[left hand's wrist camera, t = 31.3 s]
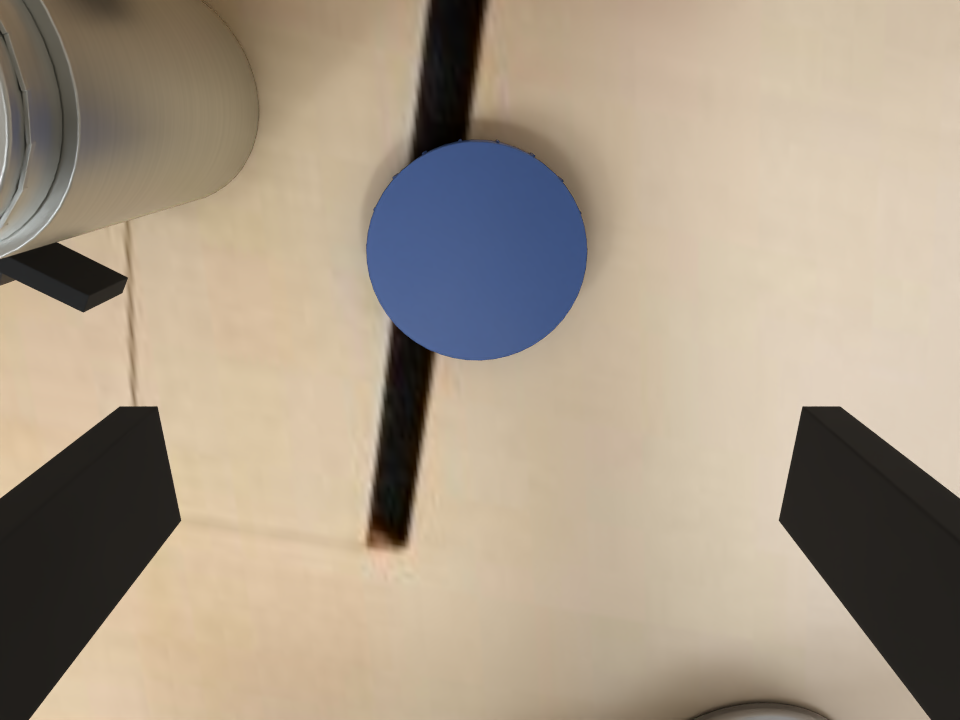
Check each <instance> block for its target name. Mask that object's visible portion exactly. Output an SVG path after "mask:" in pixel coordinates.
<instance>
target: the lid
mask: <svg viewBox="0 0 960 720" xmlns="http://www.w3.org/2000/svg"><path fill="white" fill-rule="evenodd" d="M366 246H367V247H366V249H367V265H368V271H369V276H370V280H371V283H372V286H373V289H374V292H375V294H376V296H377V298H378V300H379V302H380V304H381V306H382V307H383V309H384V310H385V312H386V314H387V315H388V316H389V317H390V319H391V320H392V321H393V322H394V324H395V325H396V326H397V327H398V328H399V329H400V330H401V331H402V332H404V333H405V334H406V335H407V336H408V337H410V338H411V339H412V340H414V341H415V342H416V343H418V344H420V345H422V346H424V347H425V348H427V349H429V350H431V351H434V352H436V353H439V354H441V355H445V356H449V357H452V358H457V359H464V360H489V359H497V358H501V357H506V356H509V355H512V354H515V353H518V352H520V351H522V350H524V349H526V348H528V347H530V346H532V345H534V344H535V343H537V342H538V341H540V340H541V339H543V338H544V337H545V336H547V335H548V334H549V333H550V332H551V331H552V330H554V329H555V328H556V326H557V325H558V324H559V323H560V322H561V321H562V320H563V319H564V317H565V316H566V314H567V313H568V312H569V310H570V309H571V307H572V305H573V303H574V301H575V300H576V298H577V296H578V293H579V290H580V288H581V285H582V282H583V278H584V274H585V269H586V261H587V239H586V234H585V228H584V224H583V220H582V217H581V212H580V211H579V209H578V207H577V205H576V202H575V200H574V198H573V197H572V195H571V194H570V192H569V190H568V189H567V187H566V186H565V185H564V183H563V180H562V179H561V178H560V177H559V176H557V175H556V174H555V173H554V172H552V171H551V170H550V169H549V168H548V167H547V166H546V165H545V164H543V163H542V162H541V161H539V160H538V159H536V158H535V155H534V154H532V153H530V154H529V153H527V152H525V151H523V150H520V149H518V148H516V147H514V146H511V145H508V144H504V143H501V142H499V140H496V141H490V140H465V141H462V139H459V140H458V141H457V142H453V143H449V144H445V145H442V146H440V147H438V148H435V149H433V150H430V151H429V152H427V151H425V152H423V153H422V156H420V157H418V158H417V159H416V160H414V161H413V162H412V163H410V164H409V165H408V166H407V167H405V168H404V169H403V170H402V171H401V172H400V173H398V174H396V175H395V176H394V177H393V180H392V181H391V183H390V184H389V185H388V187H387V188H386V189H385V191H384V192H383V194H382V196H381V198H380V200H379V201H378V203H377V205H376V207H375V208H374V213H373V215H372V218H371V222H370V226H369V230H368V236H367V244H366Z"/></svg>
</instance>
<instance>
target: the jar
mask: <svg viewBox="0 0 960 720" xmlns="http://www.w3.org/2000/svg"><path fill="white" fill-rule="evenodd" d="M258 118H259V111H258V96H257V89H256V85H255V81H254V77H253V73H252V70H251V68H250V65H249V63H248V60H247V57H246V56H245V54H244V52H243V50H242V48H241V46H240V44H239V42H238V41H237V39H236V38H235V36H234V35H233V33H232V32H231V30H230V29H229V28H228V27H227V25H226V24H225V23H224V22H223V21H222V19H221V18H220V17H219V16H218V15H217V14H216V13H215V12H214V11H213V10H211V9H210V8H209V7H208V6H207V5H206V4H204V3H203V2H202V1H201V0H0V259H2V258H5V257H8V256H12V255H15V254H18V253H22V252H25V251H28V250H32V249H35V248H38V247H42V246H45V245H48V244H52V243H55V242H58V241H62V240H65V239H68V238H72V237H75V236H78V235H82V234H85V233H88V232H92V231H95V230H98V229H102V228H105V227H108V226H112V225H115V224H118V223H122V222H125V221H128V220H132V219H135V218H138V217H142V216H145V215H148V214H152V213H155V212H158V211H161V210H165V209H168V208H171V207H175V206H178V205H181V204H185V203H188V202H191V201H195V200H198V199H201V198H205V197H207V196H209V195H211V194H213V193H215V192H217V191H218V190H220V189H221V188H223V187H224V186H226V185H227V184H228V183H229V182H230V181H231V180H232V179H233V178H234V177H235V176H236V175H237V174H238V173H239V171H240V170H241V169H242V168H243V166H244V164H245V162H246V161H247V159H248V157H249V155H250V153H251V150H252V148H253V145H254V141H255V137H256V133H257V127H258Z"/></svg>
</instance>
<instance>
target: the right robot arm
mask: <svg viewBox="0 0 960 720" xmlns="http://www.w3.org/2000/svg"><path fill="white" fill-rule="evenodd" d="M127 279H128V278H127V277H125V276H123V275H121V274H119V273H117V272H115V271H113V270H111V269H109V268H107V267H105V266H103V265H101V264H99V263H97V262H95V261H93V260H91V259H89V258H87V257H85V256H83V255H81V254H79V253H77V252H75V251H73V250H71V249H69V248H67V247H65V246H63V245H61V244H59V243H57V242H55V243H52V244H48V245H45V246H42V247H38V248H35V249H32V250H28V251H25V252H22V253H18V254H15V255H12V256H8V257H5V258H2V259H0V285H3V284H6V283H9V282H11V281H14V280H17V281H19V282H21V283H23V284H25V285H27V286H29V287H32V288H34V289H36V290H38V291H40V292H42V293H44V294H46V295H48V296H50V297H52V298H54V299H56V300H59V301H61V302H63V303H65V304H67V305H69V306H71V307H73V308H75V309H77V310H79V311H81V312H85V311H87V310H89V309H91V308H93V307H95V306H97V305H99V304H101V303H103V302H105V301H107V300H109V299H111V298H113V297H115V296H117V295H119V294H121V293H123V290H124V287H125V284H126V282H127Z"/></svg>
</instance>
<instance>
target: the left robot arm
mask: <svg viewBox="0 0 960 720" xmlns="http://www.w3.org/2000/svg"><path fill="white" fill-rule="evenodd" d="M180 521H181V518H180V513H179V508H178V503H177V498H176V493H175V489H174V484H173V479H172V474H171V469H170V465H169V460H168V455H167V450H166V445H165V440H164V436H163V431H162V426H161V421H160V416H159V412H158V407H119V408H117V409H116V410H115V411H113V412H112V413H111V414H109V415H108V416H107V417H106V418H104V419H103V420H102V421H100V422H99V423H98V424H96V425H95V426H94V427H93V428H91V429H90V430H89V431H87V432H86V433H85V434H83V435H82V436H81V437H80V438H78V439H77V440H76V441H74V442H73V443H72V444H70V445H69V446H68V447H67V448H65V449H64V450H63V451H61V452H60V453H59V454H57V455H56V456H55V457H54V458H52V459H51V460H50V461H48V462H47V463H46V464H44V465H43V466H42V467H41V468H39V469H38V470H37V471H35V472H34V473H33V474H31V475H30V476H29V477H28V478H26V479H25V480H24V481H22V482H21V483H20V484H18V485H17V486H16V487H15V488H13V489H12V490H11V491H9V492H8V493H7V494H5V495H4V496H3V497H2V498H0V720H29V719H30V718H31V716H32V715H33V714H34V712H35V711H36V710H37V708H38V707H39V706H40V704H41V703H42V702H43V701H44V699H45V698H46V697H47V695H48V694H49V693H50V691H51V690H52V689H53V687H54V686H55V685H56V684H57V682H58V681H59V680H60V678H61V677H62V676H63V674H64V673H65V672H66V670H67V669H68V668H69V667H70V665H71V664H72V663H73V661H74V660H75V659H76V657H77V656H78V655H79V653H80V652H81V651H82V650H83V648H84V647H85V646H86V644H87V643H88V642H89V640H90V639H91V638H92V636H93V635H94V634H95V633H96V631H97V630H98V629H99V627H100V626H101V625H102V623H103V622H104V621H105V619H106V618H107V617H108V616H109V614H110V613H111V612H112V610H113V609H114V608H115V606H116V605H117V604H118V602H119V601H120V600H121V599H122V597H123V596H124V595H125V593H126V592H127V591H128V589H129V588H130V587H131V585H132V584H133V583H134V582H135V580H136V579H137V578H138V576H139V575H140V574H141V572H142V571H143V570H144V568H145V567H146V566H147V565H148V563H149V562H150V561H151V559H152V558H153V557H154V555H155V554H156V553H157V551H158V550H159V549H160V548H161V546H162V545H163V544H164V542H165V541H166V540H167V538H168V537H169V536H170V534H171V533H172V532H173V531H174V529H175V528H176V527H177V525H178V524H179V523H180ZM779 521H780V523H781V524H782V525H783V527H784V528H785V529H786V531H787V532H788V533H789V534H790V536H791V537H792V538H793V540H794V541H795V542H796V544H797V545H798V546H799V548H800V549H801V550H802V551H803V553H804V554H805V555H806V557H807V558H808V559H809V561H810V562H811V563H812V565H813V566H814V567H815V568H816V570H817V571H818V572H819V574H820V575H821V576H822V578H823V579H824V580H825V582H826V583H827V584H828V585H829V587H830V588H831V589H832V591H833V592H834V593H835V595H836V596H837V597H838V599H839V600H840V601H841V602H842V604H843V605H844V606H845V608H846V609H847V610H848V612H849V613H850V614H851V616H852V617H853V618H854V619H855V621H856V622H857V623H858V625H859V626H860V627H861V629H862V630H863V631H864V633H865V634H866V635H867V636H868V638H869V639H870V640H871V642H872V643H873V644H874V646H875V647H876V648H877V650H878V651H879V652H880V653H881V655H882V656H883V657H884V659H885V660H886V661H887V663H888V664H889V665H890V667H891V668H892V669H893V670H894V672H895V673H896V674H897V676H898V677H899V678H900V680H901V681H902V682H903V684H904V685H905V686H906V687H907V689H908V690H909V691H910V693H911V694H912V695H913V697H914V698H915V699H916V701H917V702H918V703H919V704H920V706H921V707H922V708H923V710H924V711H925V712H926V714H927V715H928V716H929V718H930V719H931V720H960V498H958V497H957V496H956V495H955V494H953V493H952V492H951V491H949V490H948V489H947V488H945V487H944V486H943V485H942V484H940V483H939V482H938V481H936V480H935V479H934V478H932V477H931V476H930V475H929V474H927V473H926V472H925V471H923V470H922V469H921V468H919V467H918V466H917V465H916V464H914V463H913V462H912V461H910V460H909V459H908V458H906V457H905V456H904V455H903V454H901V453H900V452H899V451H897V450H896V449H895V448H893V447H892V446H891V445H890V444H888V443H887V442H886V441H884V440H883V439H882V438H880V437H879V436H878V435H877V434H875V433H874V432H873V431H871V430H870V429H869V428H867V427H866V426H865V425H864V424H862V423H861V422H860V421H858V420H857V419H856V418H854V417H853V416H852V415H850V414H849V413H848V412H847V411H845V410H844V409H843V408H841V407H802V411H801V416H800V421H799V426H798V431H797V436H796V440H795V445H794V450H793V455H792V460H791V465H790V469H789V474H788V479H787V484H786V489H785V493H784V498H783V503H782V508H781V513H780V518H779ZM693 720H828V719H826V718H825V717H823V716H821V715H819V714H817V713H815V712H812V711H810V710H807V709H803V708H800V707H796V706H791V705H785V704H776V703H753V704H743V705H737V706H732V707H727V708H723V709H719V710H716V711H713V712H710V713H707V714H705V715H702V716H700V717H698V718H696V719H693Z"/></svg>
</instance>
